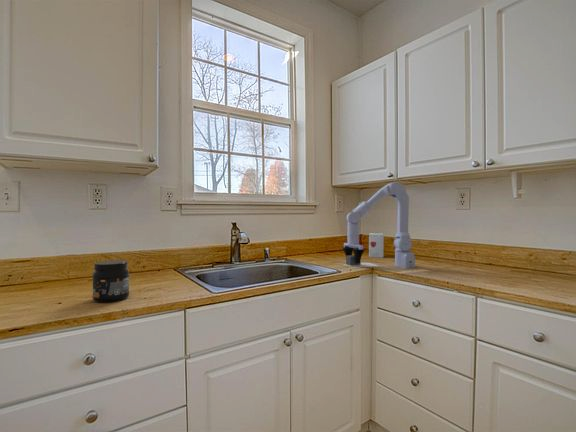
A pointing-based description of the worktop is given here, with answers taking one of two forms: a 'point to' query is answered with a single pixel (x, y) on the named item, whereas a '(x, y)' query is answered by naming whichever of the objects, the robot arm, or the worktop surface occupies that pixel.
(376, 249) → the supplement box
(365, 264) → the board
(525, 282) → the worktop surface
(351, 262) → the block
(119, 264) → the supplement container
